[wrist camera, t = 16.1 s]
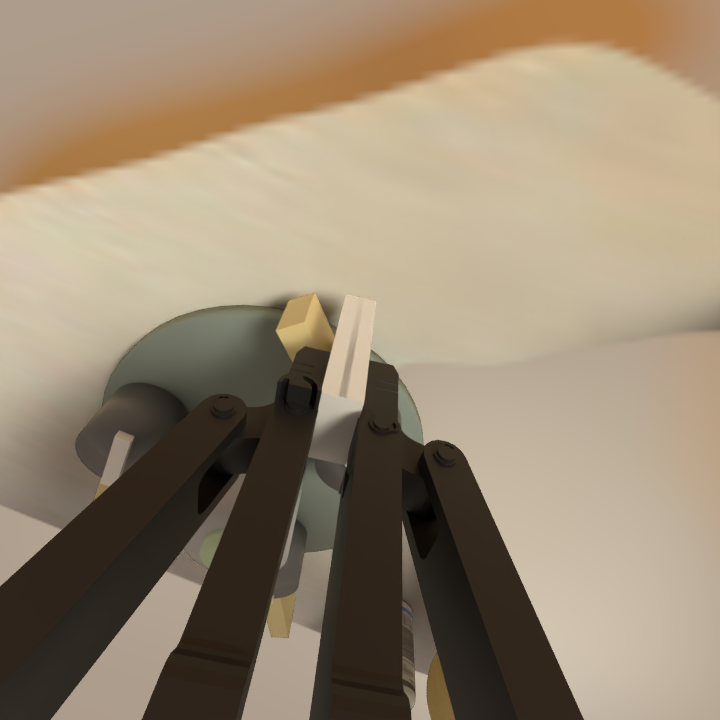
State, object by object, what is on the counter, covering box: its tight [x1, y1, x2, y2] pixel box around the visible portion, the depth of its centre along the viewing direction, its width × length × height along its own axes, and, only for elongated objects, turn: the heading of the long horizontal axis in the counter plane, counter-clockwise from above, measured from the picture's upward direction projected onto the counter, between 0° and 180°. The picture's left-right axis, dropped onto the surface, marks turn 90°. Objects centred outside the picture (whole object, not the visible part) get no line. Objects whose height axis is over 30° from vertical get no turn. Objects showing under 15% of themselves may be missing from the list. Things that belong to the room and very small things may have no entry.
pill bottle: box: [402, 601, 416, 710], centre depth 32 cm, size 5×5×8 cm
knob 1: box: [75, 383, 187, 500], centre depth 24 cm, size 10×4×4 cm, turn 152°
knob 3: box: [276, 292, 402, 492], centre depth 20 cm, size 10×4×4 cm, turn 20°
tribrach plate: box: [102, 305, 424, 569], centre depth 23 cm, size 18×18×7 cm
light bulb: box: [427, 653, 455, 720], centre depth 29 cm, size 6×6×10 cm
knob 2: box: [267, 520, 307, 638], centre depth 29 cm, size 10×4×4 cm, turn 1°
